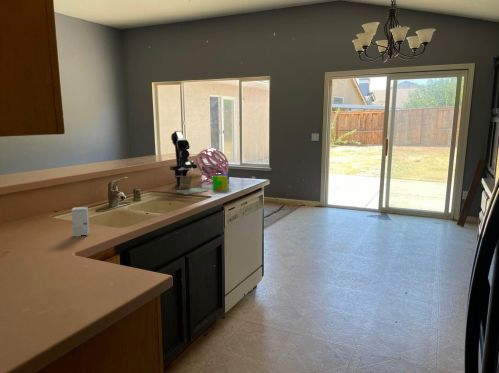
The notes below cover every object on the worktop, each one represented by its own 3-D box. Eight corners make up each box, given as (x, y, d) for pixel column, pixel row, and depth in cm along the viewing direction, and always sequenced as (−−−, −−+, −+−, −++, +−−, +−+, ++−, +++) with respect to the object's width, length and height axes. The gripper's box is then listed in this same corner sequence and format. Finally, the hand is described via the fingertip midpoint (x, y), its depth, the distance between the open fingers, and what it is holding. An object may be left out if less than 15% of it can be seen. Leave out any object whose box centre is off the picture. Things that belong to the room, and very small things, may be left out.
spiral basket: (199, 160, 265) (220, 138, 279) (180, 166, 286) (200, 145, 300) (222, 188, 275) (241, 165, 290) (202, 192, 296) (220, 170, 311)
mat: (175, 191, 253) (175, 190, 252) (198, 188, 263) (198, 187, 263) (185, 194, 242) (185, 193, 242) (208, 191, 252) (208, 190, 252)
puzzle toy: (229, 187, 264) (228, 174, 262) (227, 190, 254) (226, 176, 252) (215, 187, 265) (215, 174, 263) (213, 190, 255) (212, 176, 253)
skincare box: (73, 237, 155) (70, 209, 153) (75, 233, 160) (72, 207, 158) (88, 235, 157) (85, 208, 155) (90, 232, 161) (88, 206, 159)
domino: (179, 188, 258) (180, 176, 254) (187, 187, 262) (189, 175, 258) (181, 190, 256) (182, 178, 252) (189, 189, 260) (191, 177, 256)
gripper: (176, 159, 243) (177, 182, 246) (200, 157, 254) (201, 179, 257) (169, 158, 252) (170, 180, 254) (192, 156, 263) (193, 177, 266)
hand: (184, 179), depth 258 cm, fingers closed
